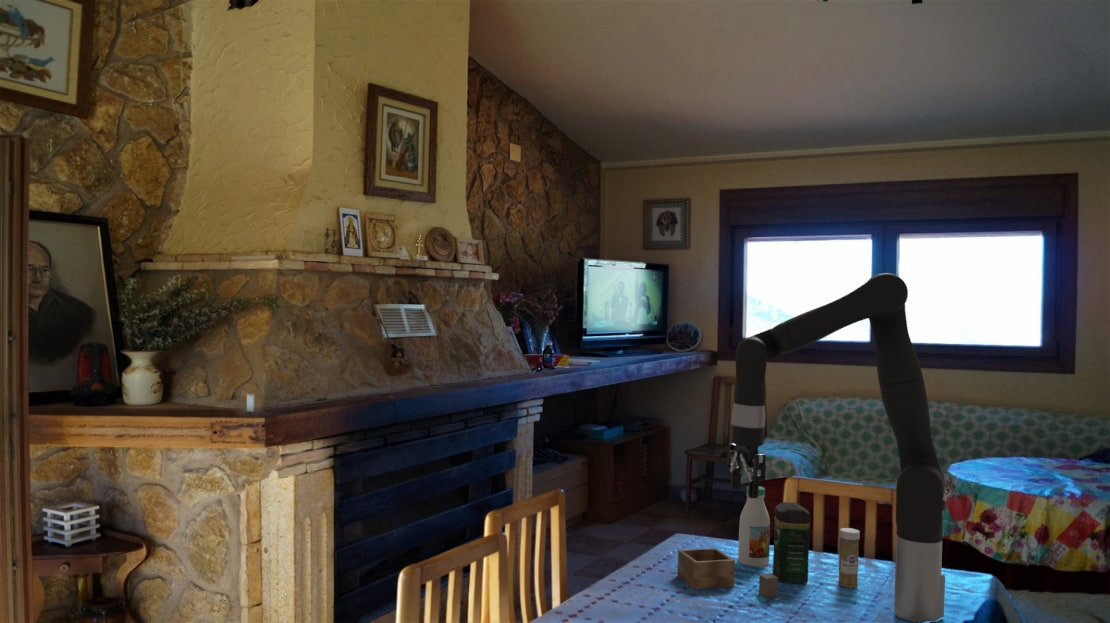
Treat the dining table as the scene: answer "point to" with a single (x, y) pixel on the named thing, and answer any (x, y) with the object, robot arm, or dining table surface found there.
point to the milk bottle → (754, 532)
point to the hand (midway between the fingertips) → (744, 493)
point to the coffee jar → (791, 543)
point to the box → (706, 568)
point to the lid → (768, 585)
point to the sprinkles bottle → (848, 557)
